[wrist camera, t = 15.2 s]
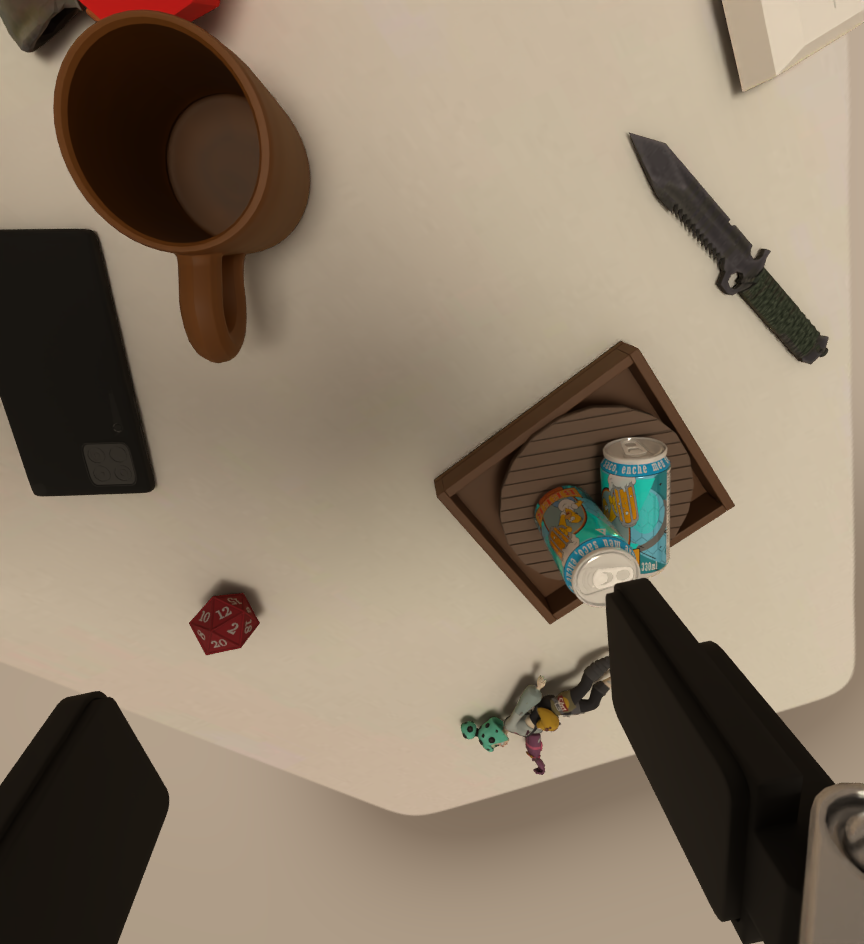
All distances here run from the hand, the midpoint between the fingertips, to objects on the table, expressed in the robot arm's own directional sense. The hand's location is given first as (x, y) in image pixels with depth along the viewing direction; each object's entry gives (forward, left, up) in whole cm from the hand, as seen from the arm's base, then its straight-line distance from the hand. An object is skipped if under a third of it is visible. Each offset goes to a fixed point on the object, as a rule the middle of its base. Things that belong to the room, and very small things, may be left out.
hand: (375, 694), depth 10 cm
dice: (-18, -5, -24) cm, 31 cm away
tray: (+5, -13, -24) cm, 28 cm away
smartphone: (-14, +12, -24) cm, 30 cm away
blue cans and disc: (+6, -13, -22) cm, 26 cm away
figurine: (+2, -28, -22) cm, 36 cm away
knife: (+21, -6, -23) cm, 32 cm away
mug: (0, +12, -24) cm, 27 cm away
